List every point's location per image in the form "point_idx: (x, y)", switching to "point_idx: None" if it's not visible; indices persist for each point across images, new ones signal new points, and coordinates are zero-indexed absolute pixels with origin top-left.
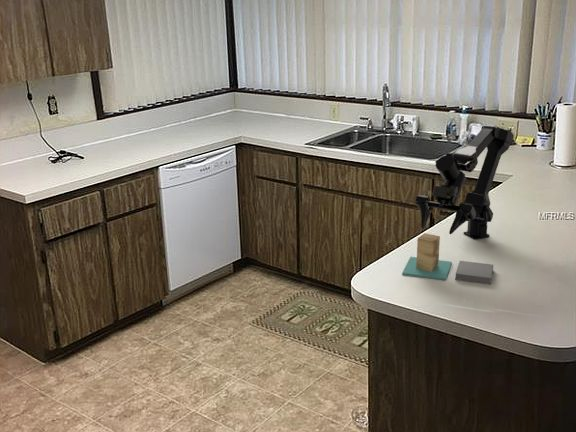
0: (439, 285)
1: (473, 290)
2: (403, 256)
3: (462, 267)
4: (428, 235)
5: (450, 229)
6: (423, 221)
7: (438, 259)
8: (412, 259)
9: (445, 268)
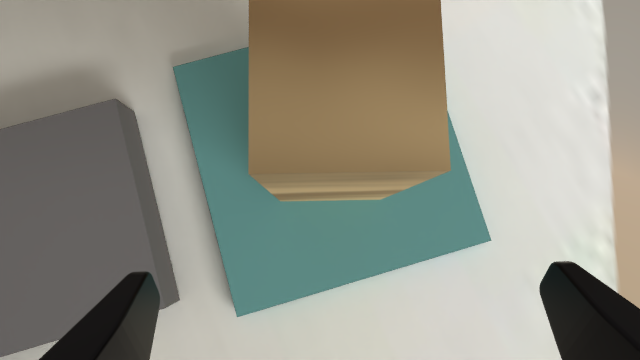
0: (185, 9)
1: (7, 51)
2: (538, 251)
3: (109, 207)
4: (376, 124)
5: (119, 304)
6: (623, 324)
7: (276, 197)
8: (458, 205)
9: (229, 196)
